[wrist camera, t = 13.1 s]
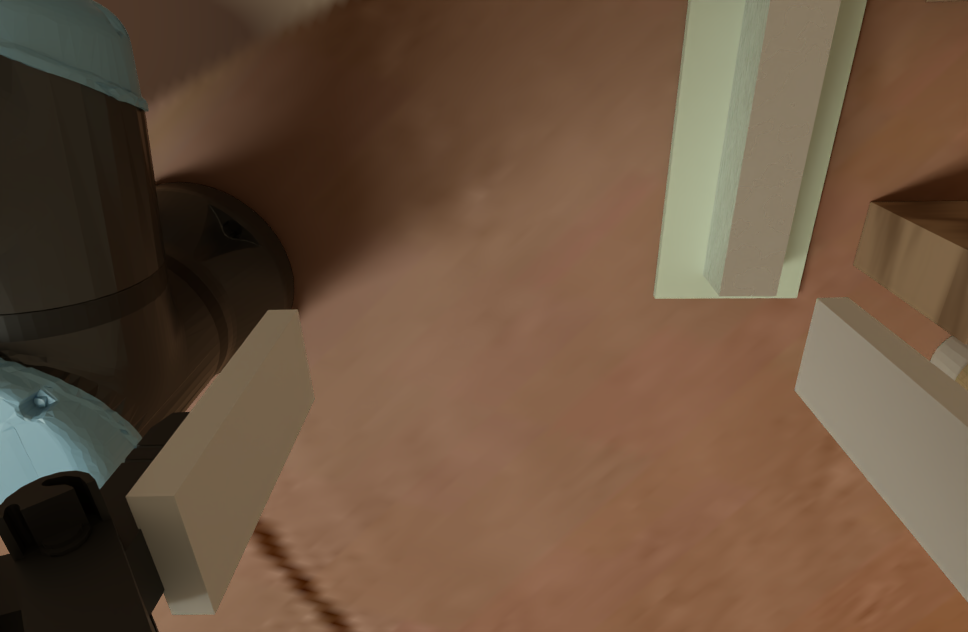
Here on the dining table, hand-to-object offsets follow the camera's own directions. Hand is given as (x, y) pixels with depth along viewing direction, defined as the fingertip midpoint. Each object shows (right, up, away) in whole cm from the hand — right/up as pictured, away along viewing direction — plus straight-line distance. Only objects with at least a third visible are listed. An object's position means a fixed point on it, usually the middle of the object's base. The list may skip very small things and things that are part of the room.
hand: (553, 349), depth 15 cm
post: (+30, +7, +29) cm, 43 cm away
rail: (+17, +15, +25) cm, 34 cm away
